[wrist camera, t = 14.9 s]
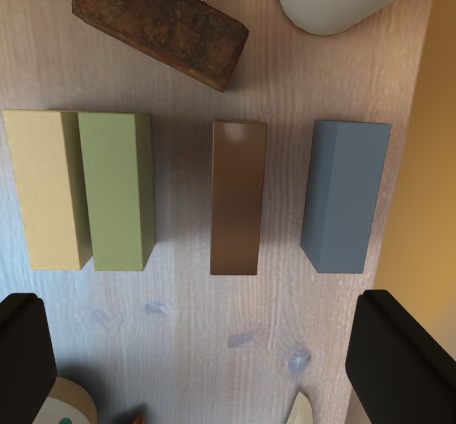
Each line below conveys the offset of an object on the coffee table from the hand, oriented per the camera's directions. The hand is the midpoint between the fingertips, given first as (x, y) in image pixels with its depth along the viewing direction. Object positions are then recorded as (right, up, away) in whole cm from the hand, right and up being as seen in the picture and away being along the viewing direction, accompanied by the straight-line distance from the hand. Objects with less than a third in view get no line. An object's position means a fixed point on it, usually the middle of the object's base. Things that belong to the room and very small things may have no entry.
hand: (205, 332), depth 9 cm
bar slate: (+9, +6, +17) cm, 20 cm away
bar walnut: (+1, +6, +17) cm, 18 cm away
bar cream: (-12, +6, +16) cm, 21 cm away
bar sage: (-7, +6, +16) cm, 19 cm away
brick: (-4, +17, +13) cm, 21 cm away
